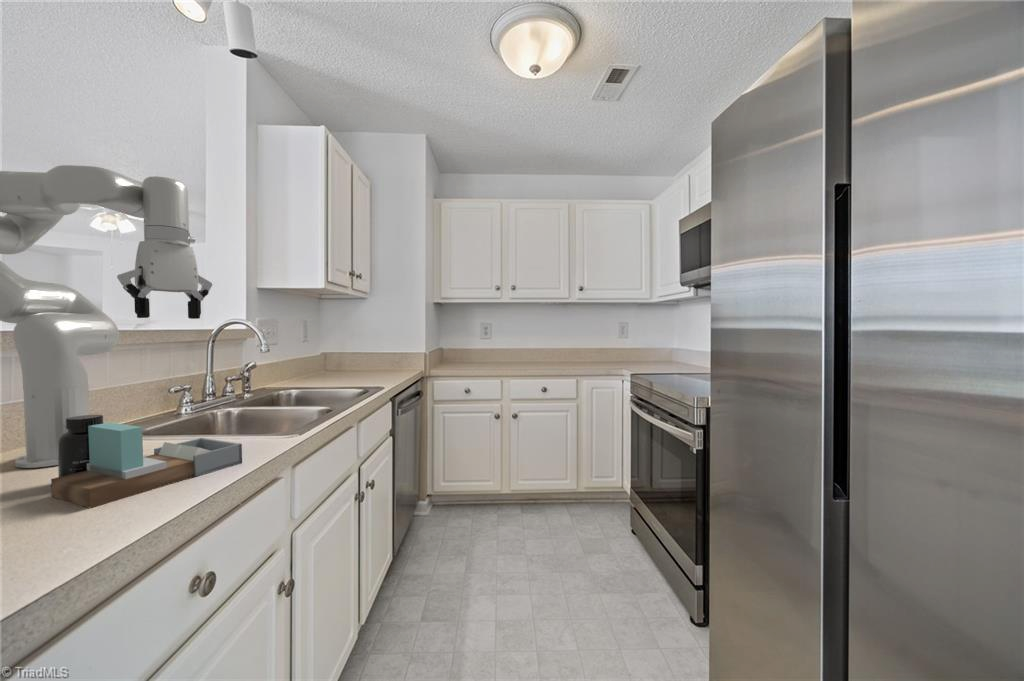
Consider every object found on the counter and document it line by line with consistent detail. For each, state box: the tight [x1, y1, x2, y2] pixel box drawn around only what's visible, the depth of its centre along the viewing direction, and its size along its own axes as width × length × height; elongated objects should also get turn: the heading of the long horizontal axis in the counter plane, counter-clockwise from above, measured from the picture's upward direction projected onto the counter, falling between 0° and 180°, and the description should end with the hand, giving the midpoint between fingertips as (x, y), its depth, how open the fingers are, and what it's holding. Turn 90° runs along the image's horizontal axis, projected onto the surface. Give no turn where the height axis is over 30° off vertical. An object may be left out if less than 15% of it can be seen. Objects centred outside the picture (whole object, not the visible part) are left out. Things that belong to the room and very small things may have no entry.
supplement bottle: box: [57, 414, 104, 477], centre depth 78 cm, size 7×7×12 cm
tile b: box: [176, 445, 210, 461], centre depth 84 cm, size 5×5×2 cm
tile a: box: [158, 441, 182, 458], centre depth 86 cm, size 5×5×2 cm
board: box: [50, 454, 195, 509], centre depth 75 cm, size 12×15×3 cm
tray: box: [153, 437, 243, 478], centre depth 86 cm, size 13×9×4 cm
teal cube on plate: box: [87, 422, 167, 479], centre depth 75 cm, size 12×6×8 cm, turn 67°
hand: (169, 318), depth 91 cm, fingers open, 9 cm apart
